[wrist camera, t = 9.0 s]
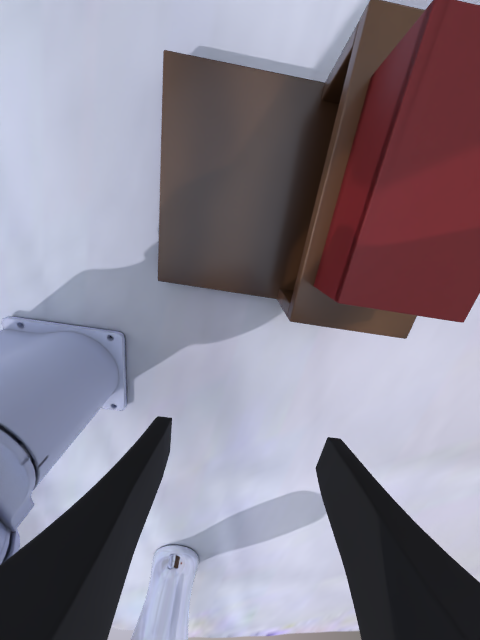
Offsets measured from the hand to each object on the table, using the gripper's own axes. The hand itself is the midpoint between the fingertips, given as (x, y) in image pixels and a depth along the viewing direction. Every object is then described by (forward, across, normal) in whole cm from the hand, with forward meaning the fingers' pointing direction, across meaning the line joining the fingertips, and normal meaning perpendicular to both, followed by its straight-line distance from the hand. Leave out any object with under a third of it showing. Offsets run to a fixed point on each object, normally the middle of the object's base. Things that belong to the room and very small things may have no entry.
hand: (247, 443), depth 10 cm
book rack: (+9, 0, -11) cm, 14 cm away
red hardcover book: (+3, -5, -11) cm, 12 cm away
